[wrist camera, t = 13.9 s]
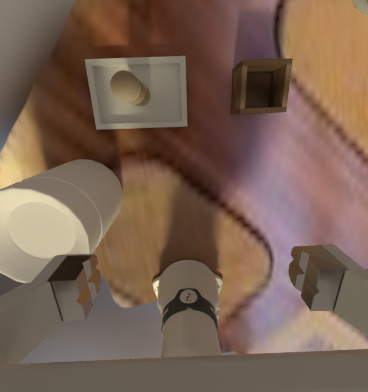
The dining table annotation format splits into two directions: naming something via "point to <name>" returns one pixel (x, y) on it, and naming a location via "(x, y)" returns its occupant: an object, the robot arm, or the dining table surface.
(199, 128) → the dining table surface
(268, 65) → the pen pot
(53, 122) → the dining table surface
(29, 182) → the canister
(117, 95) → the dowel
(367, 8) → the french press
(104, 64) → the tray
